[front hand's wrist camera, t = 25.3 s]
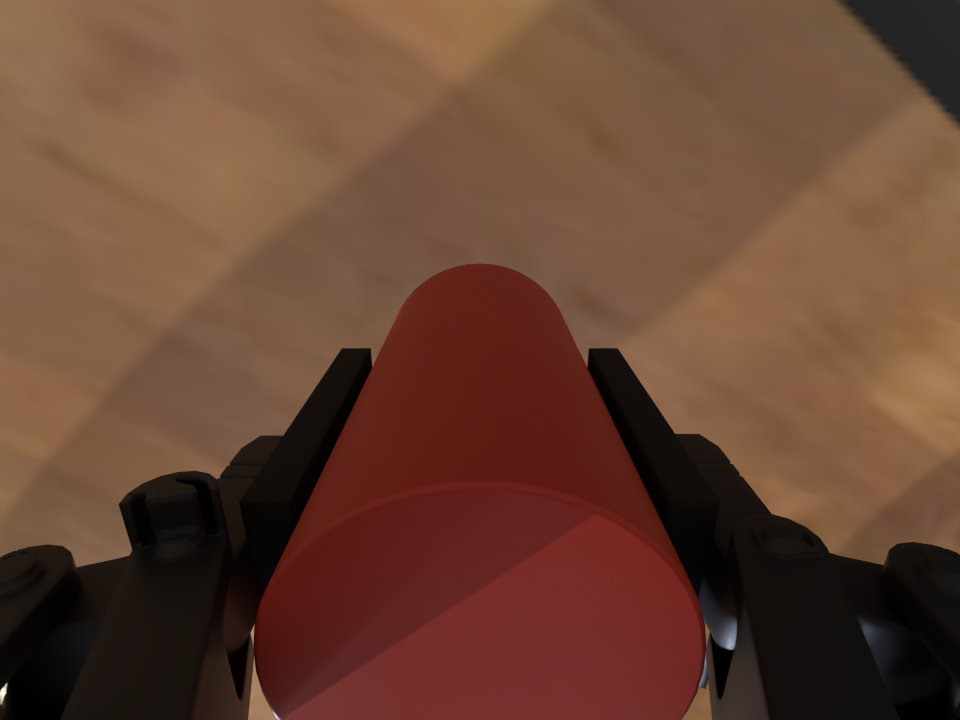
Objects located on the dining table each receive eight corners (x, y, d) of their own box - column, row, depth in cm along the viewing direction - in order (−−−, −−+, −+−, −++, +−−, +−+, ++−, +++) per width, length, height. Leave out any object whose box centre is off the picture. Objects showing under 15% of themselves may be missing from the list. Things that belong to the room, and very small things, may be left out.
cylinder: (604, 335, 17) (806, 644, 7) (494, 457, 19) (513, 858, 8) (462, 224, 16) (426, 385, 5) (357, 365, 18) (170, 702, 7)
